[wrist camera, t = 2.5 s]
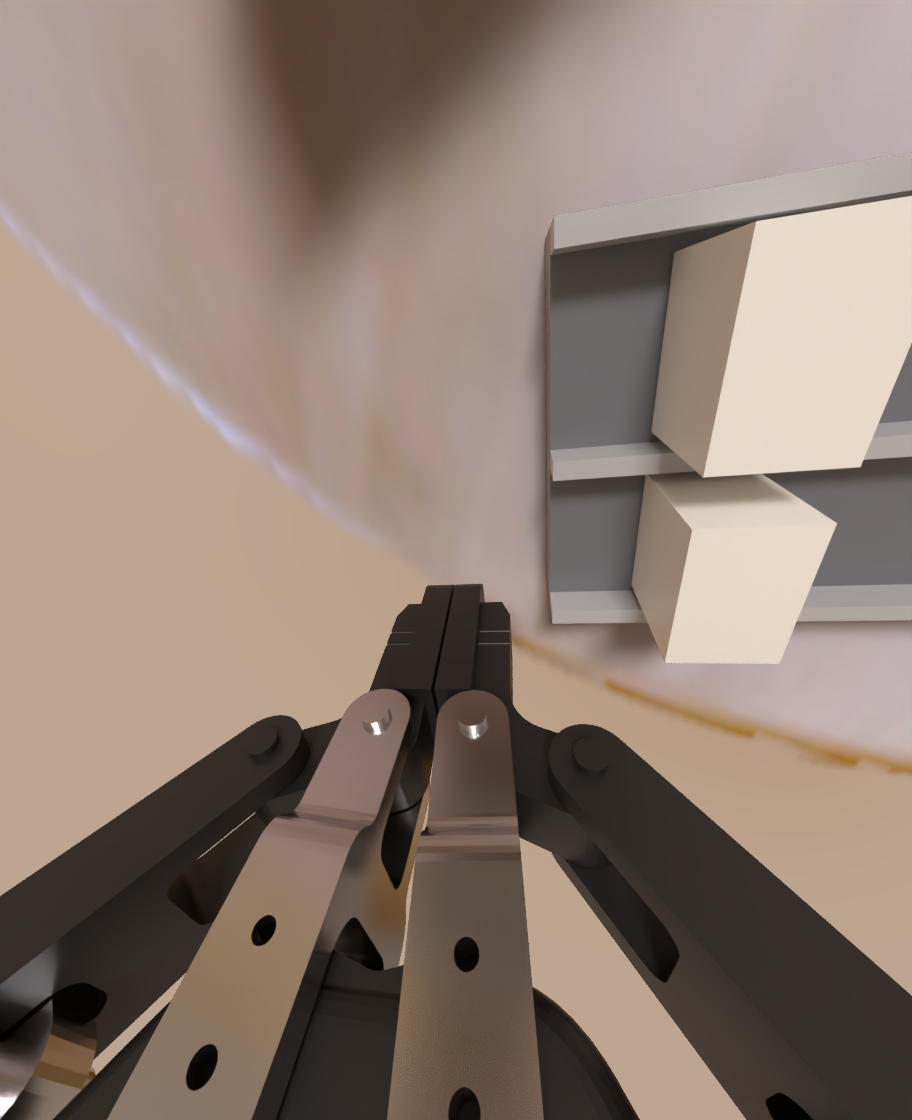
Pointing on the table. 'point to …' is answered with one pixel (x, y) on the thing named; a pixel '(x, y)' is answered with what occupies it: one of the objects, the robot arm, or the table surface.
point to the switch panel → (630, 390)
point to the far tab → (725, 565)
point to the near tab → (786, 340)
